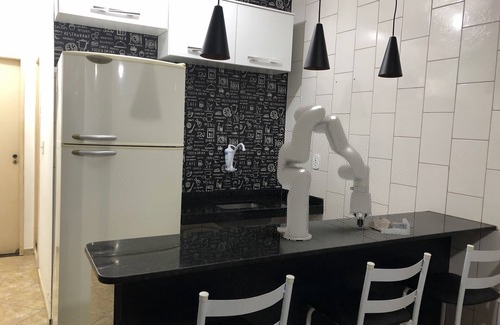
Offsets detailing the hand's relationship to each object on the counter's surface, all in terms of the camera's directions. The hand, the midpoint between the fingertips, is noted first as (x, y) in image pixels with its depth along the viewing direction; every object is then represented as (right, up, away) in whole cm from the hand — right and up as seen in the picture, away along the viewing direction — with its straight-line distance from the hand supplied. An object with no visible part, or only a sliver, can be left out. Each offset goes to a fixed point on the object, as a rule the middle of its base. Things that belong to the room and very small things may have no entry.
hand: (360, 226), depth 198 cm
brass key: (+19, -1, +9) cm, 21 cm away
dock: (+15, -1, -4) cm, 16 cm away
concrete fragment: (+10, -2, -1) cm, 10 cm away
